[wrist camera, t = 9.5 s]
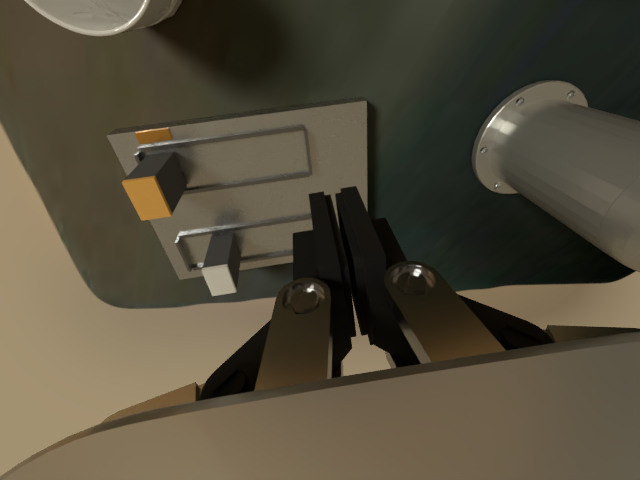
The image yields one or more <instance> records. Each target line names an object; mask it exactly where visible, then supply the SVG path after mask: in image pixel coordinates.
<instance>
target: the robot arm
mask: <svg viewBox="0 0 640 480" xmlns="http://www.w3.org/2000/svg"><path fill="white" fill-rule="evenodd" d="M472 166H473V171H474V173H475V176H476V178H477V179H478V180H479V181H480V183H481V184H483V185H484V186H485V187H486V188H488V189H490V190H491V191H493V192H497V193H501V194H514V193H520V194H521V195H523V196H524V197H526V198H527V199H528V200H530V201H531V202H533V203H534V204H536V205H537V206H539V207H540V208H541V209H543V210H544V211H546V212H547V213H549V214H550V215H551V216H553V217H554V218H556V219H557V220H559V221H560V222H562V223H563V224H564V225H566V226H567V227H569V228H570V229H572V230H573V231H575V232H576V233H577V234H579V235H580V236H582V237H583V238H585V239H586V240H587V241H589V242H590V243H592V244H593V245H595V246H596V247H598V248H599V249H600V250H602V251H603V252H605V253H607V254H608V255H609V256H611V257H612V258H614V259H615V260H617V261H618V262H620V263H621V264H623V265H625V266H627V267H629V268H631V269H633V270H636V271H638V272H640V121H637V120H633V119H630V118H626V117H622V116H619V115H615V114H611V113H607V112H604V111H600V110H596V109H593V108H589V107H588V103H587V101H586V98H585V96H584V94H583V93H582V92H581V91H580V90H579V88H577V87H576V86H574V85H572V84H570V83H566V82H562V81H556V80H545V81H538V82H535V83H532V84H529V85H527V86H525V87H523V88H521V89H519V90H517V91H515V92H514V93H513V94H511V95H510V96H508V97H507V98H506V99H504V100H503V101H502V102H501V103H500V104H499V105H498V106H497V107H496V108H495V109H494V110H493V111H492V113H491V114H490V115H489V116H488V118H487V119H486V120H485V122H484V124H483V125H482V127H481V129H480V130H479V133H478V135H477V137H476V140H475V143H474V147H473V151H472ZM340 191H341V193H336V194H335V198H336V206H337V214H338V222H339V226H338V222H337V218H336V214H335V210H334V206H333V202H332V198H331V194H330V195H324V191H323V192H317V193H311V194H309V201H310V209H311V217H312V225H313V230H308V231H302V232H296V233H293V280H294V281H292V282H290V283H288V284H287V285H285V286H284V287H283V288H282V289H281V290H280V292H279V293H278V295H277V298H276V301H275V305H274V310H273V314H272V318H271V320H270V321H269V322H268V323H267V324H266V325H265V326H263V327H262V328H261V329H260V330H259V331H258V332H257V333H256V334H255V335H254V336H252V337H251V338H250V339H249V340H248V341H247V342H246V343H245V344H244V345H243V346H242V347H241V348H239V349H238V350H237V351H236V352H235V353H234V354H233V355H232V356H231V357H230V358H229V359H227V361H225V362H224V363H223V364H222V365H221V366H220V367H219V368H218V369H217V370H216V371H215V372H214V373H213V374H212V375H211V376H210V377H209V378H208V379H207V381H206V383H204V384H202V385H199V386H198V385H197V384H196V382H195V383H192V384H189V385H187V386H184V387H181V388H179V389H176V390H174V391H171V392H168V393H166V394H163V395H160V396H158V397H155V398H153V399H150V400H147V401H145V402H142V403H139V404H137V405H134V406H131V407H129V408H126V409H124V410H121V411H118V412H117V413H115V414H113V415H111V416H109V417H108V418H106V419H105V420H104V421H103V422H102V423H101V424H99V425H96V426H94V427H91V428H89V429H86V430H84V431H81V432H79V433H76V434H74V435H71V436H69V437H67V438H65V439H63V440H61V441H59V442H57V443H55V444H53V445H51V446H49V447H47V448H46V449H44V450H42V451H40V452H38V453H36V454H34V455H32V456H31V457H29V458H28V459H26V460H24V461H23V462H21V463H20V464H18V465H17V466H15V467H14V468H12V469H11V470H9V471H8V472H6V473H5V474H3V475H2V476H0V480H640V329H637V328H616V327H586V326H556V325H547V328H546V330H542V329H540V328H539V327H538V326H536V325H534V324H532V323H530V322H528V321H525V320H523V319H520V318H518V317H515V316H512V315H510V314H507V313H504V312H502V311H499V310H497V309H494V308H492V307H489V306H486V305H484V304H481V303H479V302H476V301H474V300H471V299H468V298H466V297H463V296H460V295H458V294H457V293H456V292H455V291H454V290H453V289H452V288H451V286H450V285H449V284H448V283H447V282H446V281H445V280H444V278H443V277H442V276H441V275H440V274H439V273H438V272H437V271H436V270H435V269H434V268H433V267H431V266H429V265H427V264H425V263H421V262H417V261H407V259H406V258H405V256H404V254H403V252H402V250H401V248H400V246H399V244H398V242H397V240H396V238H395V236H394V234H393V232H392V230H391V228H390V226H389V224H388V222H387V220H386V219H385V218H380V219H374V220H371V219H370V217H369V215H368V212H367V210H366V208H365V205H364V203H363V201H362V198H361V196H360V194H359V191H358V189H357V187H356V186H353V187H347V188H341V189H340ZM351 294H352V295H351ZM352 298H353V302H354V306H355V311H356V315H357V319H358V323H359V327H360V332H361V335H367V334H368V337H369V341H370V345H373V344H374V345H376V346H377V347H379V348H381V349H383V350H384V351H385V354H386V357H387V360H388V362H389V364H390V366H391V369H386V370H380V371H374V372H368V373H362V374H355V375H349V376H343V363H342V360H343V359H344V357H345V356H346V355H347V354H348V352H349V351H350V350H351V349H352V344H351V337H355V336H356V330H355V322H354V312H353V304H352Z"/></svg>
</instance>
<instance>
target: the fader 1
mask: <svg viewBox="0 0 640 480" xmlns="http://www.w3.org/2000/svg"><path fill="white" fill-rule="evenodd" d="M122 184H123V186H124V188H125V190H126V192H127V194H128V196H129V198H130V199H131V201H132V203H133V205H134V207H135V209H136V211H137V213H138V215H139V217H140V219H141V220H142V221H143V220H150V219H157V218H164V217H171V216H172V214H173V212H174V210H175V208H176V206H177V204H178V202H179V200H180V199H181V197H182V195H183V193H184V191H185V189H186V187H187V185H186V182H185V180H184V177H183V175H182V172H181V169H180V167H179V164H178V162H177V159H176V157H175V154H174V152H168V153H161V154H154V155H147V156H146V157H145V158H144V159H143V160H142V161H141V162H140V163H139V164H138V165H137V166H136V168H135V169H134V170H133V171H132V172H131V173H130V174H129V175H128V176H127V177H126V178H125V179H124V180H123V181H122Z"/></svg>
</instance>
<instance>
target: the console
mask: <svg viewBox="0 0 640 480" xmlns="http://www.w3.org/2000/svg"><path fill="white" fill-rule="evenodd" d="M107 137H108V139H109V141H110V143H111V145H112V147H113V149H114V151H115V153H116V155H117V157H118V159H119V161H120V163H121V165H122V166H123V168H124V170H125V172H126V174H127V176H128V175H129V174H130V173H131V172H132V171H133V170H134V169H135V168H136V166H137V165H138V164H139V163H140V162H141V161H142V160H143V159H144V158H145V157H146V156H147V155H154V154H161V153H168V152H174V154H175V157H176V159H177V162H178V164H179V167H180V169H181V172H182V175H183V177H184V180H185V182H186V185H187V187H186V189H185V191H184V193H183V195H182V197H181V199H180V200H179V202H178V204H177V206H176V208H175V210H174V212H173V214H172V216H171V217H164V218H157V219H150V222H151V224H152V226H153V228H154V230H155V232H156V234H157V236H158V238H159V240H160V242H161V244H162V245H163V247H164V249H165V251H166V253H167V255H168V257H169V259H170V261H171V263H172V265H173V267H174V269H175V271H176V273H177V275H178V277H179V279H180V280H181V279H187V278H194V277H200V276H204V275H203V273H202V271H201V270H202V267H203V264H204V260H205V257H206V253H207V250H208V246H209V243H210V239H211V236H216V235H223V234H229V233H233V234H234V237H235V240H236V243H237V246H238V249H239V252H240V255H241V261H240V268H239V270H245V269H252V268H258V267H264V266H271V265H277V264H284V263H290V262H293V233H296V232H302V231H308V230H313V225H312V217H311V209H310V201H309V194H311V193H317V192H323V191H324V195H330V194H331V198H332V202H333V206H334V210H335V214H336V218H337V222H338V214H337V206H336V198H335V194H336V193H341V191H340V189H341V188H347V187H353V186H356V187H357V189H358V191H359V194H360V196H361V198H362V201H363V203H364V205H365V208H366V210H367V100H365V99H364V98H363V97H354V98H347V99H339V100H332V101H324V102H316V103H309V104H301V105H294V106H286V107H279V108H271V109H264V110H256V111H248V112H241V113H233V114H226V115H218V116H211V117H203V118H196V119H188V120H181V121H173V122H165V123H158V124H150V125H143V126H135V127H128V128H120V129H115V130H114V131H112V132H111V133H109V134H108V135H107ZM338 226H339V222H338Z"/></svg>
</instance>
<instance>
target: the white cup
mask: <svg viewBox="0 0 640 480" xmlns="http://www.w3.org/2000/svg"><path fill="white" fill-rule="evenodd" d="M24 1H26V2H27V3H28V4H29V5H30V6H31V7H33V8H34V9H35V10H36V11H38V12H39V13H40V14H42V15H43V16H45V17H46V18H48V19H49V20H51V21H53V22H54V23H56V24H58V25H60V26H62V27H64V28H66V29H69V30H71V31H74V32H77V33H81V34H85V35H91V36H110V35H115V34H119V33H124V32H129V31H134V30H138V29H142V28H145V27H148V26H152V25H155V24H157V23H159V22H161V21H163V20H165V19H167V18H170V17H172V16H173V15H174V14H175V12H176V11H177V9H178V8H179V6H180V4H181V3H182V1H183V0H24Z"/></svg>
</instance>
